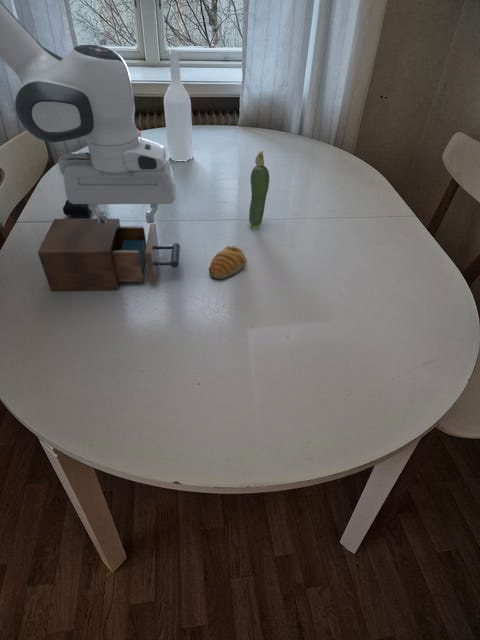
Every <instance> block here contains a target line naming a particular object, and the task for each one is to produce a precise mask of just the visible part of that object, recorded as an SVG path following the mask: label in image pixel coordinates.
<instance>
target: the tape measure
mask: <svg viewBox="0 0 480 640" xmlns="http://www.w3.org/2000/svg"><path fill="white" fill-rule="evenodd" d="M62 212H63V215H65V216H66V217H67V216H68V217H77V218H79V217H84V218H90V217H91V216H92V214H93V212H92V211H91V210H90V209H89V206H88V204H72V203H71V202H70V201H69V200H68V199H67V198H66V201H65V204H64V205H63V207H62Z"/></svg>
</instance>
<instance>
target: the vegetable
mask: <svg viewBox="0 0 480 640" xmlns="http://www.w3.org/2000/svg"><path fill="white" fill-rule="evenodd" d="M254 162H255V166H254V167H253V169H252V170H251V173H250V189H251V198H250V205H249V213H248V214H249V215H248V221H249V224H250V229H251V230H254V229H255V230H256V229H257V230H258V229H260V225H261V224H262V222H263V217H264V213H265V207H266V206H265V205H266V200H267V195H268V191H269V187H270V172H269V169H268V167H267V166H265V158H264V151H263V150H261V151H259V152H258V153H257V155H256V156H255V161H254Z"/></svg>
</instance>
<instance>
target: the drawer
mask: <svg viewBox="0 0 480 640" xmlns="http://www.w3.org/2000/svg"><path fill="white" fill-rule="evenodd" d="M123 240H144V243H145V258H146V260H145V265H144V271H143V272H142V266H141V260H140V254H139V250H121V247H122V243H123ZM160 250H171V257H170V258H171V259H170V261H159V259H160ZM180 253H181V245H180V243H178V242H174V243H173V244H172V245H159V239H158V230H157V223H149V229H148V235H147V238H146V232H145V226H143V225H126V226H125V225H120V226H118V230H117V233H116V237H115V240H114V244H113V247H112V251H111V256H112V260H113V265H114V270H115V274H116V279H117V282H120V283H128V282H129V283H131V282H133V283H135V282H137V283H139V282H142V283H143V282H144V278H145V274H146V271H147V277H148V284H149V285H156V280H157V274H158V266H161V267H162V266H170V267H172V268H174V269H176V268H178V267H179V266H180V265H179V264H180Z"/></svg>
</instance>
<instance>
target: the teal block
mask: <svg viewBox="0 0 480 640" xmlns="http://www.w3.org/2000/svg"><path fill="white" fill-rule="evenodd" d="M121 250H139V254H140V260H141V266H142V272H143V271H144V265H145V260H146V258H145V243H144V240H123V243H122V247H121Z"/></svg>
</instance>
